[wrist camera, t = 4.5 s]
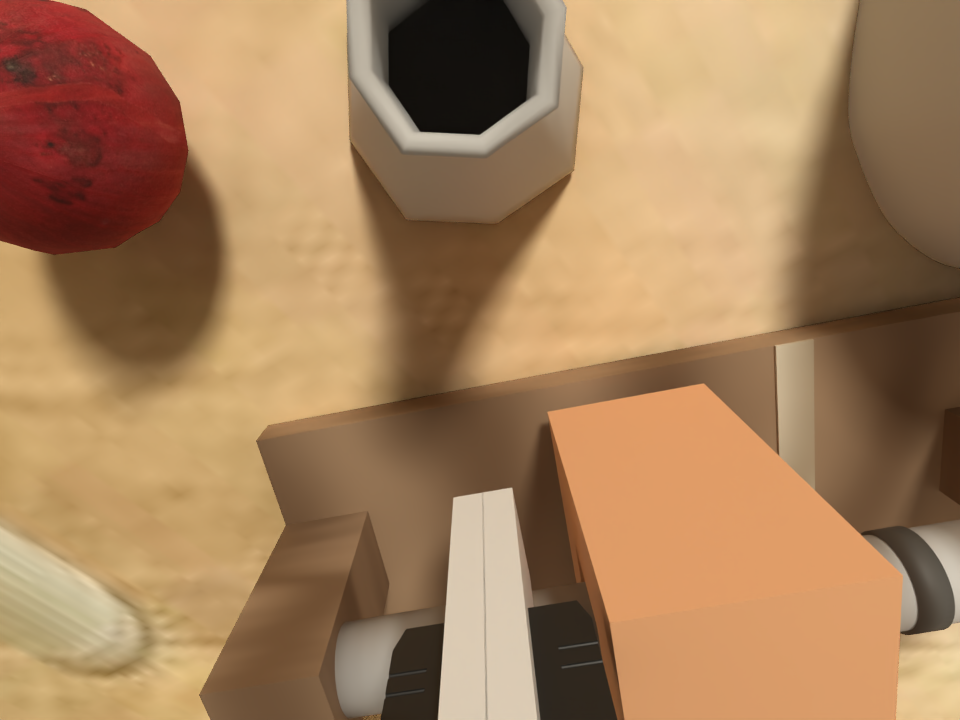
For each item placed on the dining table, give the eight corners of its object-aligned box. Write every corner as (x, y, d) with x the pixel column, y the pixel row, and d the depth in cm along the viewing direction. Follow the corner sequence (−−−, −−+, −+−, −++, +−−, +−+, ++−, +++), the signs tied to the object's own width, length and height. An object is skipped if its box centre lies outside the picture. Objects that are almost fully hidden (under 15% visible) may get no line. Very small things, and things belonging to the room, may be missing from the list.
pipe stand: (342, 642, 24) (280, 871, 16) (268, 425, 21) (146, 582, 13) (989, 535, 23) (1255, 729, 15) (1015, 287, 20) (1371, 370, 12)
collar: (584, 631, 22) (658, 939, 13) (546, 411, 19) (610, 622, 10) (720, 609, 21) (885, 908, 13) (703, 383, 18) (902, 575, 10)
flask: (606, 191, 18) (747, 224, 9) (389, 254, 19) (307, 347, 10) (553, -71, 16) (667, -393, 7) (307, 10, 17) (95, -182, 7)
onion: (149, -12, 16) (-126, -158, 9) (270, 175, 18) (125, 185, 11) (-5, 98, 17) (-375, 50, 10) (124, 266, 19) (-107, 337, 11)
